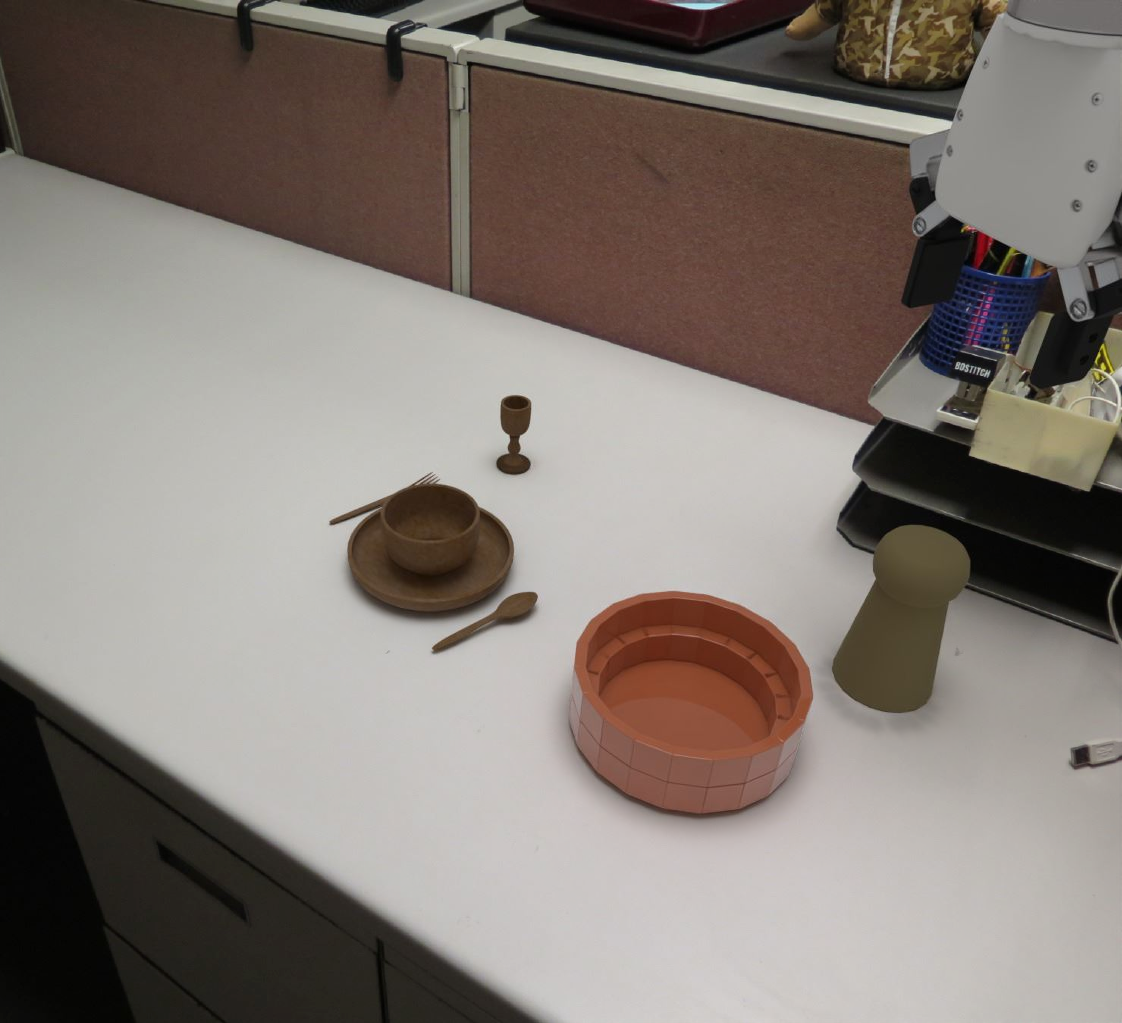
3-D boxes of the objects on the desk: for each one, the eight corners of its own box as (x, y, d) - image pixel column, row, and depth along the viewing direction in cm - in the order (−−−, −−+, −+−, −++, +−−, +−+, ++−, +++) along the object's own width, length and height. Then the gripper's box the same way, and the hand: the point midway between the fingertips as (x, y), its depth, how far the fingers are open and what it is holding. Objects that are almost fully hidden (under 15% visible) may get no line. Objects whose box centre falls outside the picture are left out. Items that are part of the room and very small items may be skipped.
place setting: (300, 529, 79) (293, 465, 76) (512, 448, 88) (515, 387, 84) (425, 667, 68) (424, 599, 64) (656, 558, 76) (666, 492, 73)
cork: (834, 702, 65) (878, 566, 58) (829, 636, 70) (869, 503, 63) (938, 719, 64) (994, 583, 57) (926, 651, 68) (977, 517, 62)
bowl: (817, 692, 66) (834, 634, 63) (762, 855, 56) (779, 795, 53) (615, 623, 71) (622, 567, 68) (533, 762, 61) (538, 703, 58)
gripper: (1356, 30, 41) (1176, 405, 51) (1024, -42, 54) (933, 269, 64) (1212, 47, 39) (1055, 433, 49) (904, -32, 52) (830, 287, 63)
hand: (986, 340), depth 57 cm, fingers open, 9 cm apart
